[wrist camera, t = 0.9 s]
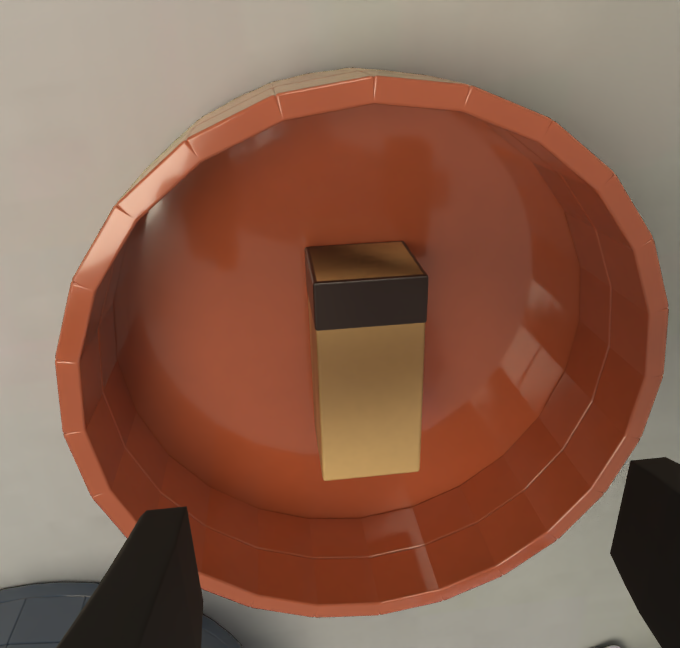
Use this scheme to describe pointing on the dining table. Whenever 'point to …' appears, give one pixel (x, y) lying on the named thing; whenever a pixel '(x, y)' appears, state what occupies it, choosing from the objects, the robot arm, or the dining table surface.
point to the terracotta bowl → (295, 348)
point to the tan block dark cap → (367, 357)
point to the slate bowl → (65, 616)
